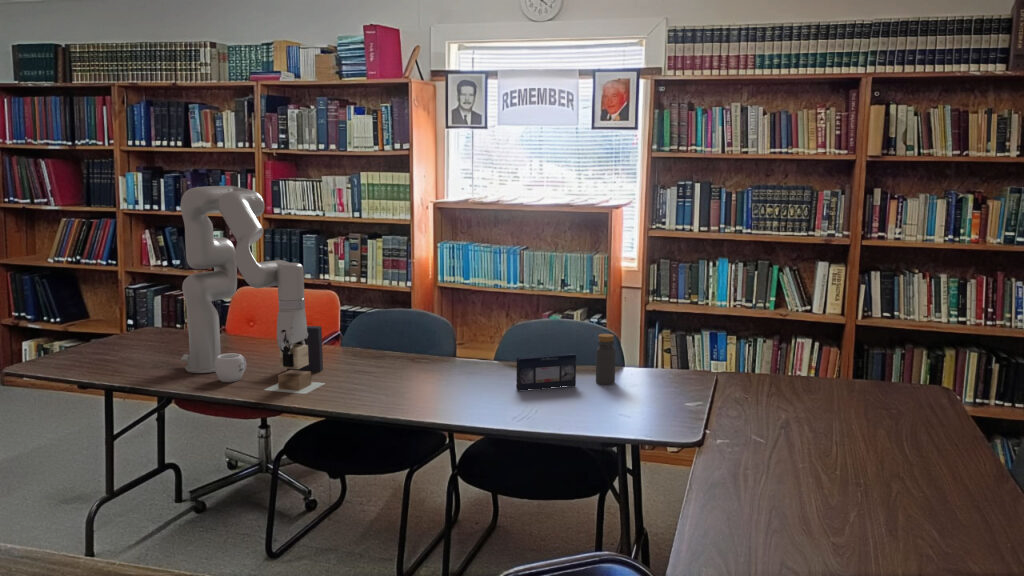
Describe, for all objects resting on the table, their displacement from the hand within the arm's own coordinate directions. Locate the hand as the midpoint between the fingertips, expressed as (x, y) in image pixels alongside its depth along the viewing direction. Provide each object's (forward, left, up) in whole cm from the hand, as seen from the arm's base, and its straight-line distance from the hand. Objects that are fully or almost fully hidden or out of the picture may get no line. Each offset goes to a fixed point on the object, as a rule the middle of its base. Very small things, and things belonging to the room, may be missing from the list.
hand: (294, 363), depth 256 cm
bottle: (+88, +34, -8) cm, 95 cm away
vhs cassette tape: (+72, +23, -8) cm, 76 cm away
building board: (0, 0, -8) cm, 8 cm away
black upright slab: (-7, +18, -8) cm, 21 cm away
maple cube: (0, 0, -1) cm, 1 cm away
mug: (-24, +4, -8) cm, 26 cm away
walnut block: (0, 0, -7) cm, 7 cm away
